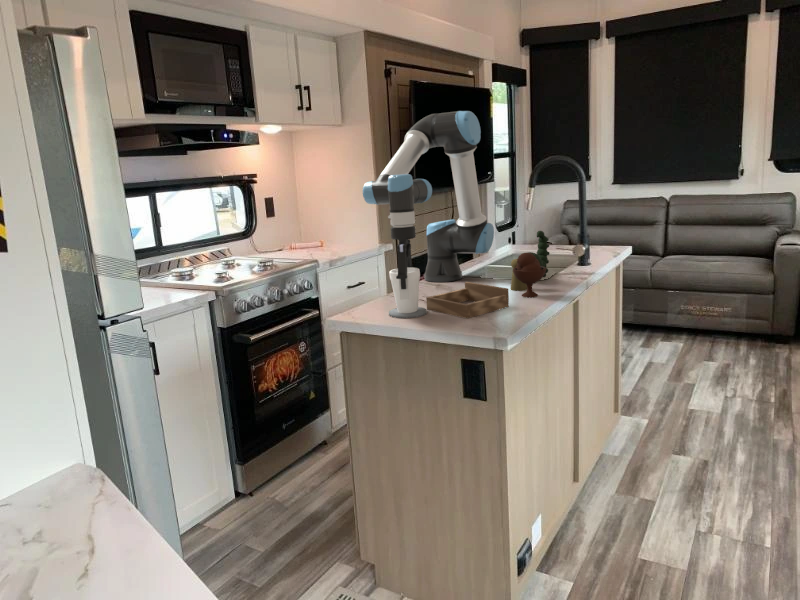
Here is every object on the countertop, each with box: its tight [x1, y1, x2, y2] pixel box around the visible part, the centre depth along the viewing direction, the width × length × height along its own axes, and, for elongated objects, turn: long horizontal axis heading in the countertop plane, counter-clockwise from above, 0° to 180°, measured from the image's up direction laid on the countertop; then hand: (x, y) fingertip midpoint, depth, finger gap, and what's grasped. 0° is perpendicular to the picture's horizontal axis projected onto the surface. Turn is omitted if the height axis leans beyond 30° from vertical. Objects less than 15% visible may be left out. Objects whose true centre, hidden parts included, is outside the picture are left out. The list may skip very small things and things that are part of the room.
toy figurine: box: [526, 230, 550, 278], centre depth 236 cm, size 9×19×25 cm
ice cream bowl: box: [512, 252, 547, 299], centre depth 208 cm, size 11×11×15 cm
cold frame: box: [425, 281, 510, 319], centre depth 197 cm, size 18×18×6 cm
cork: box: [510, 258, 527, 292], centre depth 220 cm, size 6×6×11 cm
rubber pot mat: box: [388, 306, 428, 319], centre depth 196 cm, size 12×12×1 cm
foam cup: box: [389, 266, 421, 313], centre depth 194 cm, size 10×9×13 cm
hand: (406, 295), depth 195 cm, fingers open, 11 cm apart
